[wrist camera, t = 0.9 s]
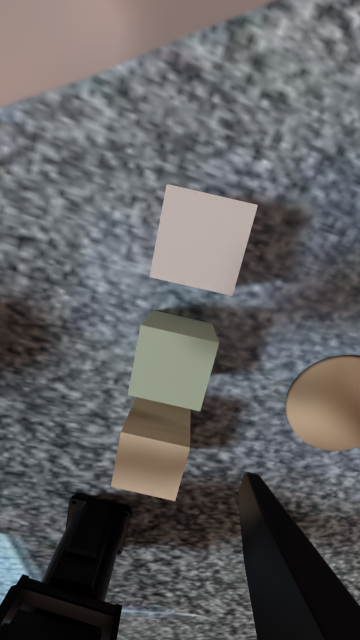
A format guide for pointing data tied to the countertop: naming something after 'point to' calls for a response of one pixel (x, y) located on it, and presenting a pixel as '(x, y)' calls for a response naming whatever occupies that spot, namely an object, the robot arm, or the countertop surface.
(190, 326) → the sage block
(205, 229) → the offwhite block
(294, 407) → the coaster
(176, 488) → the maple block
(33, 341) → the countertop surface
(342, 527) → the countertop surface
